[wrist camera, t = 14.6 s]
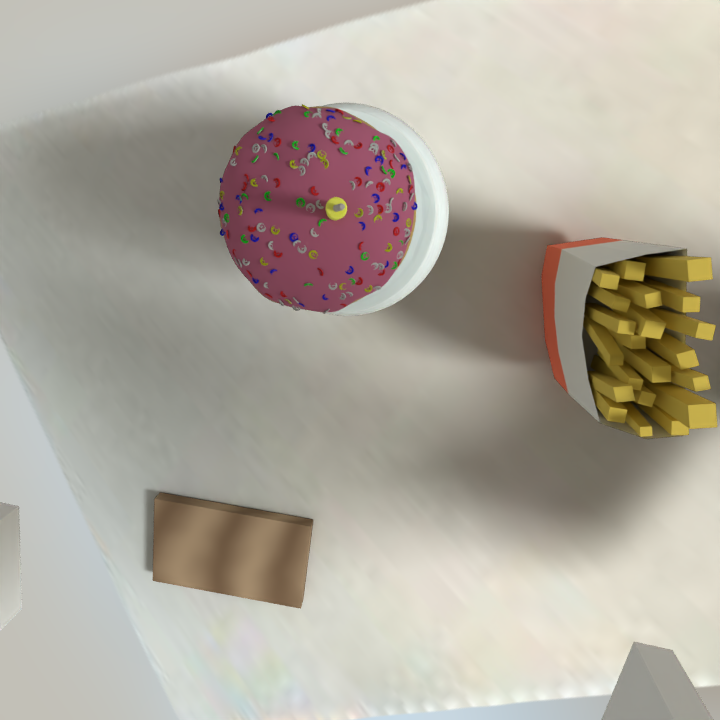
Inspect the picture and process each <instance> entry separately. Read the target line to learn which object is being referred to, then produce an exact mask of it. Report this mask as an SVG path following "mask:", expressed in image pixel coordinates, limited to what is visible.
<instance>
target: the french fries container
mask: <svg viewBox="0 0 720 720" xmlns="http://www.w3.org/2000/svg"><path fill="white" fill-rule="evenodd" d="M541 278H542V295H543V313H544V330H545V341H546V345H547V349H548V354H549V358H550V362H551V366H552V370H553V374H554V378H555V379H556V380H557V381H558V383H559V384H560V385H561V386H562V387H563V388H564V390H565V391H566V392H567V393H568V394H569V395H570V396H571V397H572V398H573V399H574V400H575V401H577V402H578V403H579V404H580V405H581V406H582V407H583V408H584V409H585V410H586V411H587V412H589V413H590V414H591V415H592V416H593V417H594V418H595V419H596V420H597V421H598V422H599V423H601V424H604V425H607V426H610V427H613V428H616V429H619V430H622V431H625V432H627V433H630V434H633V435H636V436H639V437H642V438H645V439H652V438H663V437H675V436H684V435H689V429H696V428H712V427H717V415H716V403H714V402H711V401H709V400H707V399H705V398H703V397H701V396H699V395H696V394H694V393H692V392H690V391H688V390H686V389H685V388H688V389H690V390H693V391H695V392H697V391H702V390H708V389H711V387H710V383H709V379H708V375H705V374H702V373H700V372H697V371H695V370H692V369H689V368H691V367H695V366H699V362H698V359H697V356H696V353H695V350H694V349H692V348H691V347H689V346H687V345H686V344H685V335H689V336H692V337H694V338H700V339H706V340H712V339H713V335H714V331H715V327H716V325H713V324H710V323H707V322H703V321H700V320H697V319H694V318H690V317H687V316H686V312H700V297H699V296H696V295H694V294H691V293H688V292H686V281H687V282H692V281H701V280H710V279H713V278H712V264H711V258H710V257H690V256H687V249H685V248H678V247H670V246H663V245H655V244H648V243H640V242H633V241H625V240H618V239H610V238H596V239H589V240H582V241H575V242H568V243H561V244H555V245H548V246H547V249H546V255H545V260H544V265H543V271H542V276H541Z"/></svg>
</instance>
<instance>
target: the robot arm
mask: <svg viewBox="0 0 720 720" xmlns="http://www.w3.org/2000/svg"><path fill="white" fill-rule="evenodd" d="M21 594H22V593H21V562H20V527H19V506H15V505H10V504H6V503H1V502H0V630H1V629H2V628H3V627H4V626H5V625H6V624H7V623H8V622H9V621H10V620H11V619H12V618H13V617H14V616H15V615H16V614H17V613H18V612H19V611H20V610H21V609H22V595H21ZM602 720H713V718H712V716H711V715H710V713H709V711H708V710H707V708H706V706H705V705H704V703H703V701H702V699H701V698H700V696H699V695H698V693H697V691H696V689H695V688H694V686H693V684H692V682H691V681H690V679H689V677H688V676H687V674H686V672H685V671H684V669H683V667H682V666H681V664H680V662H679V660H678V659H677V657H676V655H675V654H674V652H673V650H669V649H665V648H660V647H656V646H651V645H647V644H642V643H638V642H634V643H633V645H632V648H631V650H630V652H629V655H628V657H627V660H626V662H625V664H624V667H623V669H622V672H621V674H620V676H619V679H618V681H617V684H616V686H615V688H614V691H613V693H612V696H611V698H610V700H609V703H608V705H607V708H606V710H605V712H604V715H603V717H602Z"/></svg>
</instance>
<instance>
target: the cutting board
mask: <svg viewBox="0 0 720 720" xmlns="http://www.w3.org/2000/svg"><path fill="white" fill-rule="evenodd" d="M312 526H313V520H312V519H307V518H301V517H295V516H290V515H284V514H279V513H273V512H267V511H262V510H256V509H250V508H245V507H239V506H234V505H228V504H222V503H217V502H211V501H205V500H200V499H194V498H189V497H183V496H177V495H172V494H166V493H159V494H158V495H157V496H156V498H155V499H154V545H153V581H157V582H162V583H168V584H173V585H178V586H184V587H189V588H194V589H200V590H205V591H210V592H216V593H221V594H226V595H232V596H237V597H242V598H248V599H253V600H258V601H264V602H269V603H274V604H280V605H285V606H290V607H296V608H301V606H302V602H303V597H304V589H305V582H306V574H307V566H308V558H309V550H310V542H311V534H312Z"/></svg>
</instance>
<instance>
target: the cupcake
mask: <svg viewBox="0 0 720 720" xmlns="http://www.w3.org/2000/svg"><path fill="white" fill-rule="evenodd" d="M302 106H303V107H302ZM302 106H291V107H288V108H285V109H283V110H277V111H276V112H275V113H274V114H272V113H268V114H267V115H266V119H265V120H263V121H262V122H261V123H259V124H258V125H257V126H255V127H254V128H253V129H251V130H250V131H249V132H247V133H246V134H245V135H244V136H243V137H242V138H241V140H240V141H239V143H238V144H237V146H234V149H233V154H232V156H231V158H230V160H229V163H228V165H227V167H226V169H225V172H224V175H223V178H220V183H221V186H220V196H219V199H218V200H217V201H218V204H219V209H218V214H219V217H220V224H221V228H222V229H221V231H220V235H221V236H223V235H224V238H225V241H226V244H227V247H228V250H229V252H230V254H231V257H232V259H233V260H234V262H235V264H236V265H237V267H238V268H239V269H240V271H241V272H242V273H243V274H244V276H245V277H246V278H247V279H248V280H249V281H250V282H251V284H252V285H253V286H254V287H255V288H256V289H257V291H258V292H259V293H261V294H262V295H263V296H264V297H266V298H267V299H269V300H271V301H273V302H276V303H279V304H281V305H282V306H284V305H286V306H289V307H292V308H293V309H294V310H296V311H298V310H300V309H305V310H311V311H317V312H323V313H324V314H325V313H327V312H336V311H339V310H341V309H343V308H345V307H346V306H348V305H350V304H352V303H354V302H356V301H358V300H360V299H361V298H363V297H365V296H367V295H369V294H371V293H373V292H375V291H377V290H380V289H381V287H382V286H384V285H385V284H386V283H387V282H388V280H389V279H390V278H391V276H392V275H393V274H394V272H395V271H396V270H397V268H398V267H399V266H400V264H401V263H402V261H403V259H404V257H405V256H406V254H407V251H408V249H409V246H410V243H411V240H412V236H413V232H414V228H415V222H416V209H417V207H418V206H417V203H416V195H415V184H414V175H413V168H412V165H411V164H410V163H409V161H408V159H407V157H406V155H405V154H404V152H403V150H402V149H401V147H400V146H399V145H398V144H397V142H396V141H395V140H394V139H393V138H391V137H390V136H388V135H386V134H383V133H381V132H379V131H378V130H376V129H375V128H374V127H373V126H371V125H370V124H368V123H367V122H365V121H363V120H362V119H360V118H358V117H356V116H354V115H352V114H350V113H348V112H346V111H343V110H340V109H337V108H333V107H321V106H317V107H306V106H305V105H303V104H302ZM269 115H271V116H269ZM268 116H269V117H268ZM235 147H236V148H235ZM222 232H223V234H222ZM296 308H298V309H296Z"/></svg>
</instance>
